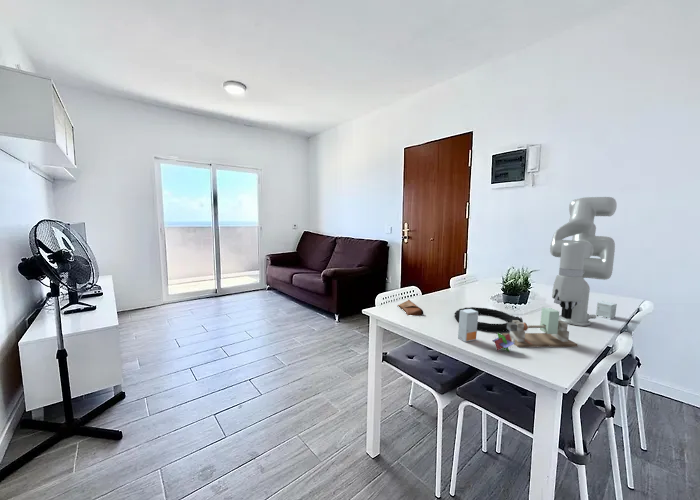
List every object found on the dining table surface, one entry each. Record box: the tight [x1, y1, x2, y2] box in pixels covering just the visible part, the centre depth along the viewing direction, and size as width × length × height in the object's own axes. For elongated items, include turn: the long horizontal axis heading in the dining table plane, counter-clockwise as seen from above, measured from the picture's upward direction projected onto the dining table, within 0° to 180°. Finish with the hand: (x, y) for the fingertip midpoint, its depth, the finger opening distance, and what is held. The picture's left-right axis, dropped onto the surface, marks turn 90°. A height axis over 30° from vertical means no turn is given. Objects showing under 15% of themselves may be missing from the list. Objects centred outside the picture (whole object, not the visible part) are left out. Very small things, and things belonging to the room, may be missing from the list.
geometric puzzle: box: [492, 332, 515, 353], centre depth 110 cm, size 7×7×8 cm
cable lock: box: [454, 306, 524, 333], centre depth 140 cm, size 28×4×30 cm
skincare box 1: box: [457, 309, 479, 343], centre depth 119 cm, size 6×4×12 cm
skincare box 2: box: [595, 300, 618, 319], centre depth 151 cm, size 6×6×7 cm
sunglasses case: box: [397, 299, 424, 316], centre depth 157 cm, size 18×7×7 cm
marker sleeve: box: [539, 307, 560, 334], centre depth 119 cm, size 4×4×9 cm
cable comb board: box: [501, 320, 579, 348], centre depth 119 cm, size 25×11×8 cm, turn 93°
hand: (566, 317), depth 119 cm, fingers closed
